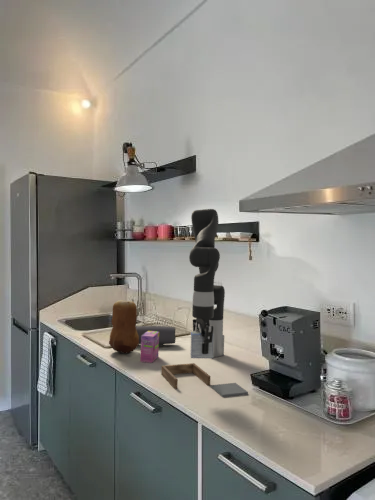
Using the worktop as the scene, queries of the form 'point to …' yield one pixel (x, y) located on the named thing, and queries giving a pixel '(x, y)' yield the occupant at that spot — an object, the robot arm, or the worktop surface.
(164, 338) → the bluetooth speaker
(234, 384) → the coaster
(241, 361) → the worktop surface
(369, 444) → the worktop surface
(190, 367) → the u-shaped wooden frame
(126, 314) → the butternut squash
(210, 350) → the medicine box
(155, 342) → the box
